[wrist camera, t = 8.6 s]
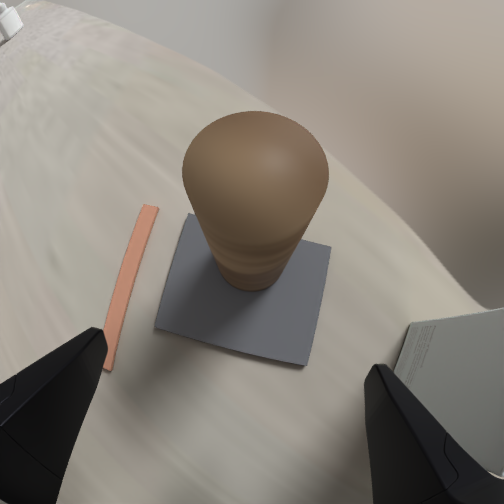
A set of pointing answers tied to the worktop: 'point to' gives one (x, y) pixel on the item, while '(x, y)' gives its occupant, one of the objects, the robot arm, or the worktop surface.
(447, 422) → the supplement box
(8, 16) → the eye dropper bottle
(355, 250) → the worktop surface
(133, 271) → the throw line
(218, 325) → the mat
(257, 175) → the pin
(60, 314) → the worktop surface
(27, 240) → the worktop surface
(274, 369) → the worktop surface
